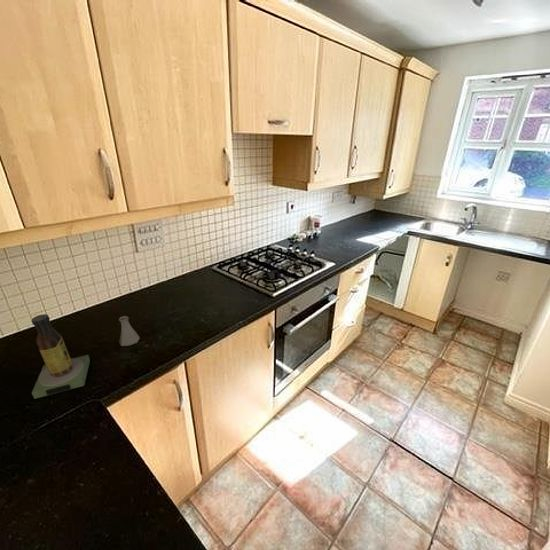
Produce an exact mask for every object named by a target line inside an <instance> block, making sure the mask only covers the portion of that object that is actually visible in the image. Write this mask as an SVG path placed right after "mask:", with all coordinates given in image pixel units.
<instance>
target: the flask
mask: <svg viewBox="0 0 550 550" xmlns="http://www.w3.org/2000/svg"><path fill="white" fill-rule="evenodd" d="M118 321H119V322H120V333H119V334H120V335H119V340H118V343H119V345H120V346H121V347H128V346H132V345H134V344H137V343H138V342H139V341H140V336H139V334H138V333H137V332H136V331H135V329H134V328H133V327H132V326H131V324H130V322H129V316H128V315H123V316H120V317H119V318H118Z"/></svg>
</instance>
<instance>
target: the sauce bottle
mask: <svg viewBox="0 0 550 550" xmlns="http://www.w3.org/2000/svg"><path fill="white" fill-rule="evenodd" d="M31 323H32V325H33V326H34V328H35V330H36V333H37V335H36V338H35V343H36V345H37V347H38V351H39V353H40V355H41V357H42V359H43V362H44V365H46V366H47V368H48V371H49V372H50V374H51V376H53V377H59V376H63V375H65V374H67V373H69V372H70V371H71V370H72V367H73V365H72V361H71V356H70V354H69V351H68V349H67V346H66V344H65V341H64V339H63V336H62V334H60V332H59V331H58V330H56V329H55V328H54V327H53V325H52V323H51V321H50V317H49V315H48V314H47V313H45V314H44V313H42V314H38V315H35V316H34V317H32V319H31Z"/></svg>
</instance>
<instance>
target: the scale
mask: <svg viewBox="0 0 550 550" xmlns="http://www.w3.org/2000/svg"><path fill="white" fill-rule="evenodd" d="M70 359H71V361H72V365H73V367H72V370H71V371H70V372H69V373H67V374H65V375H63V376H59V377H53V376H51V374H50V372H49V371H48V368H47V366H46V364H43V365H42V368H41V371H40V372H39V375H38V377H37V380H36V382H35V384H34V386H33V388H32V391H31V395H32V397H33V399H35V400H36V399H39V398H43V397H48V396H51V395H55V394H58V393H63V392H65V391H69V390H73V389H78V388H81V387H84V386H85V385H86V380H87V375H88V371H89V367H90V362H91V359H90V356H89V354H86V355H80V356H77V357H73V358H71V357H70Z"/></svg>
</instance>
